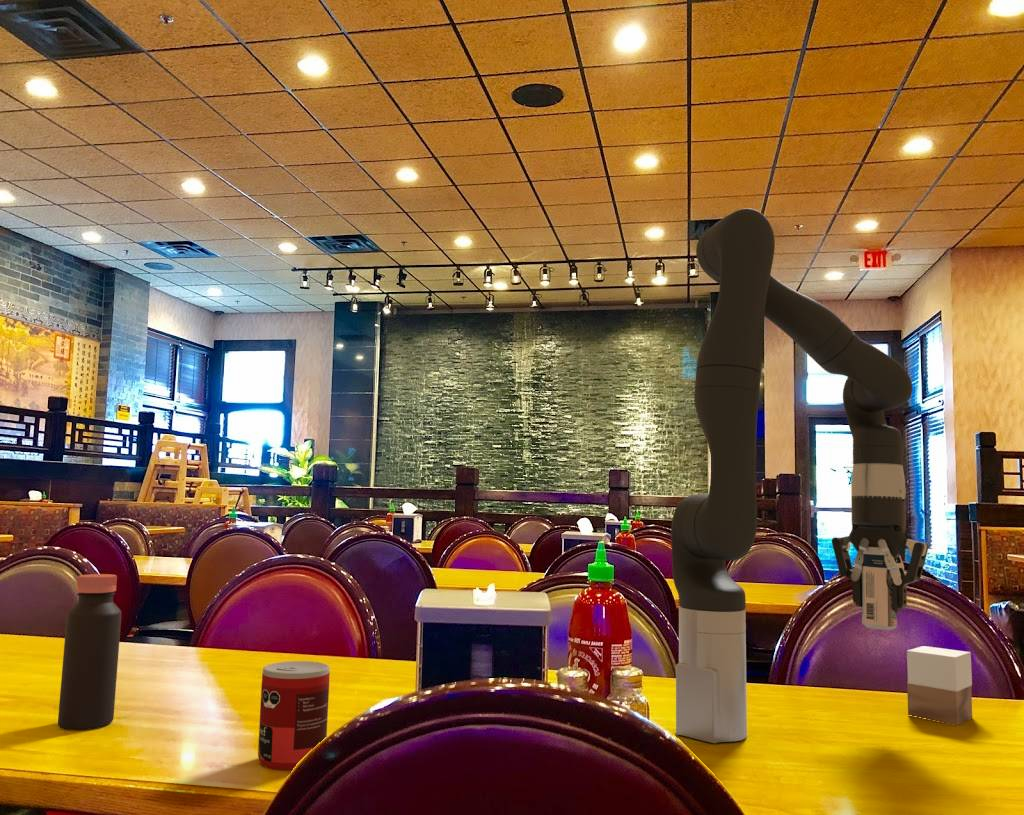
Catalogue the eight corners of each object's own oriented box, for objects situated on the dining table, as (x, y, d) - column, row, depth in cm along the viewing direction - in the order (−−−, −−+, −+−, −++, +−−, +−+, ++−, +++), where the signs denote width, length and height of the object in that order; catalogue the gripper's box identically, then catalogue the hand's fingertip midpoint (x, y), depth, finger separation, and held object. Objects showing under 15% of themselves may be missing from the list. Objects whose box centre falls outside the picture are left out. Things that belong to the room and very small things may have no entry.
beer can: (900, 631, 120) (899, 548, 121) (865, 629, 121) (865, 546, 122) (892, 627, 125) (891, 547, 126) (859, 625, 126) (858, 545, 127)
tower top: (956, 691, 123) (955, 657, 123) (907, 683, 128) (906, 650, 128) (972, 685, 127) (970, 652, 128) (924, 677, 132) (923, 645, 133)
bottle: (56, 733, 107) (69, 578, 110) (58, 720, 113) (70, 573, 116) (114, 728, 111) (125, 577, 113) (112, 716, 117) (123, 573, 119)
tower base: (957, 726, 122) (956, 691, 123) (908, 716, 127) (907, 683, 128) (972, 718, 127) (971, 685, 127) (924, 709, 132) (923, 677, 132)
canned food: (264, 751, 102) (269, 660, 103) (329, 751, 103) (333, 660, 104) (250, 771, 94) (255, 673, 96) (320, 771, 95) (325, 673, 96)
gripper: (821, 493, 128) (821, 604, 126) (918, 494, 118) (920, 616, 115) (842, 495, 133) (843, 602, 131) (936, 496, 123) (939, 613, 121)
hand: (879, 608), depth 123 cm, fingers closed on beer can, 4 cm apart
